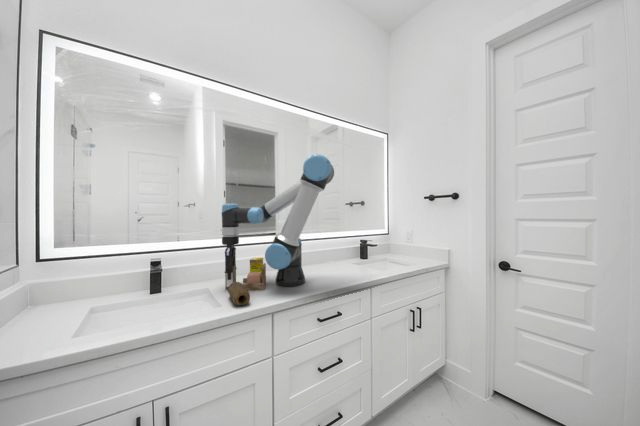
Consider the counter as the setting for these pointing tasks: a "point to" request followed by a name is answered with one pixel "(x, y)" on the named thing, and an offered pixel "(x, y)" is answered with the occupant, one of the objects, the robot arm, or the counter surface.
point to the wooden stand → (257, 285)
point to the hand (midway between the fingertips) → (230, 284)
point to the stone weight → (239, 293)
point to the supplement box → (256, 265)
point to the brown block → (251, 278)
